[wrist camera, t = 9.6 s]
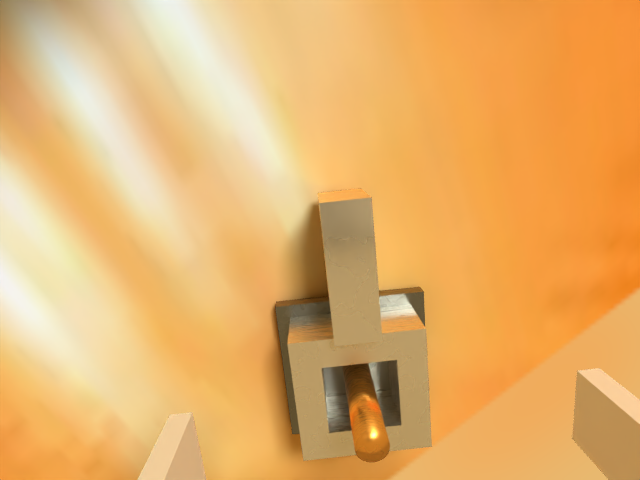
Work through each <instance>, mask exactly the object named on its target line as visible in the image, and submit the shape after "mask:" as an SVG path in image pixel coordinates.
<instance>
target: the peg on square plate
mask: <svg viewBox="0 0 640 480" xmlns="http://www.w3.org/2000/svg"><path fill="white" fill-rule="evenodd" d="M379 301H380V308H384V307H393V306H402V305H411V306H412V307H413V309H414V311H415V312H416V314H417V315H418V317H419V318H420V320H421V322H422V323H423V325H424V326H425V313H424V291H423V290H422V289H421V288H420V287H414V288H404V289H395V290H385V291H379ZM275 309H276V316H277V323H278V331H279V338H280V346H281V353H282V360H283V368H284V375H285V383H286V390H287V397H288V405H289V412H290V420H291V427H292V434H300V431H299V424H298V417H297V410H296V402H295V395H294V388H293V381H292V373H291V366H290V359H289V352H288V344H287V343H288V334H289V325H290V318H293V317H302V316H311V315H320V314H329V313H330V305H329V296H327V297H317V298H308V299H298V300H289V301H279V302H276V306H275ZM323 370H324V379H325V387H326V396H327V397H334V396H343V395H347V401H348V408H349V415H350V421H351V428H352V435H353V441H354V448H355V453H356V455H357V456H358V457H359V458H360V459H361V460H363V461H366V462H377V461H380V460H382V459H383V458H384V457H386V455H387V454H388V452H389V450H390V443H389V439H388V435H387V432H386V428H385V424H384V420H383V417H382V413H381V409H380V406H379V402H378V398H377V394H376V392H379V391H388V390H390V383H389V369H388V361H381V362H372V363H363V364H354V365H345V366H336V367H327V368H323Z"/></svg>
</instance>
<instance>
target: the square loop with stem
mask: <svg viewBox="0 0 640 480" xmlns="http://www.w3.org/2000/svg"><path fill="white" fill-rule="evenodd" d="M317 194H318V203H319V212H320V222H321V231H322V240H323V249H324V259H325V268H326V277H327V286H328V296H329V305H330V313H329V314H320V315H311V316H302V317H293V318H290V325H289V334H288V343H287V344H288V352H289V359H290V366H291V373H292V381H293V388H294V395H295V402H296V410H297V417H298V424H299V431H300V439H301V446H302V453H303V460H304V461H306V460H315V459H324V458H333V457H342V456H351V455H356V453H355V448H354V441H353V435H352V428H351V421H350V415H349V408H348V401H347V395H343V396H334V397H327V396H326V387H325V379H324V370H323V368H327V367H336V366H345V365H354V364H363V363H372V362H381V361H388V369H389V383H390V390H388V391H379V392H376V394H377V398H378V402H379V406H380V409H381V413H382V417H383V420H384V424H385V428H386V432H387V435H388V439H389V443H390V450H389V451H396V450H405V449H414V448H423V447H432V442H431V422H430V401H429V380H428V360H427V339H426V328H425V326H424V325H423V323H422V322H421V320H420V318H419V317H418V315H417V314H416V312H415V311H414V309H413V307H412V306H411V305H402V306H393V307H384V308H380V301H379V288H378V275H377V262H376V249H375V236H374V223H373V210H372V197H370V196H369V195H368V194H367V193H366V192H365V191H363V190H362V189H361V188H358V189H349V190H340V191H331V192H321V193H317Z"/></svg>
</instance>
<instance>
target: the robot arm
mask: <svg viewBox="0 0 640 480" xmlns="http://www.w3.org/2000/svg"><path fill="white" fill-rule="evenodd" d="M573 440H574V441H575V442H576V443H577V445H578V446H579V447H580V448H581V449H582V450H583V451H584V453H586V455H587V456H588V457H589V458H590V459H591V460H592V461H593V462H594V464H595V465H596V466H597V467H598V468H599V469H600V471H601V472H603V474H604V475H605V476H606V477H607V478H608V480H640V400H639V399H638V398H637V397H635V396H634V395H633V394H631V393H630V392H629V391H628V390H626V389H625V388H624V387H623V386H621V385H620V384H619V383H617V382H616V381H615V380H614V379H612V378H611V377H610V376H608V375H607V374H606V373H605V372H603V371H602V370H601V369H599V368H598V369H590V370H581V371H577V380H576V395H575V409H574V424H573ZM138 480H206V476H205V471H204V466H203V461H202V456H201V452H200V447H199V442H198V437H197V432H196V428H195V423H194V418H193V413H192V412H191V413H181V414H172V415H169V417H168V419H167V421H166V423H165V425H164V427H163V429H162V431H161V433H160V435H159V437H158V439H157V441H156V443H155V445H154V447H153V449H152V451H151V454H150V456H149V458H148V460H147V462H146V464H145V466H144V468H143V470H142V472H141V474H140V476H139V478H138Z"/></svg>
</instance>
